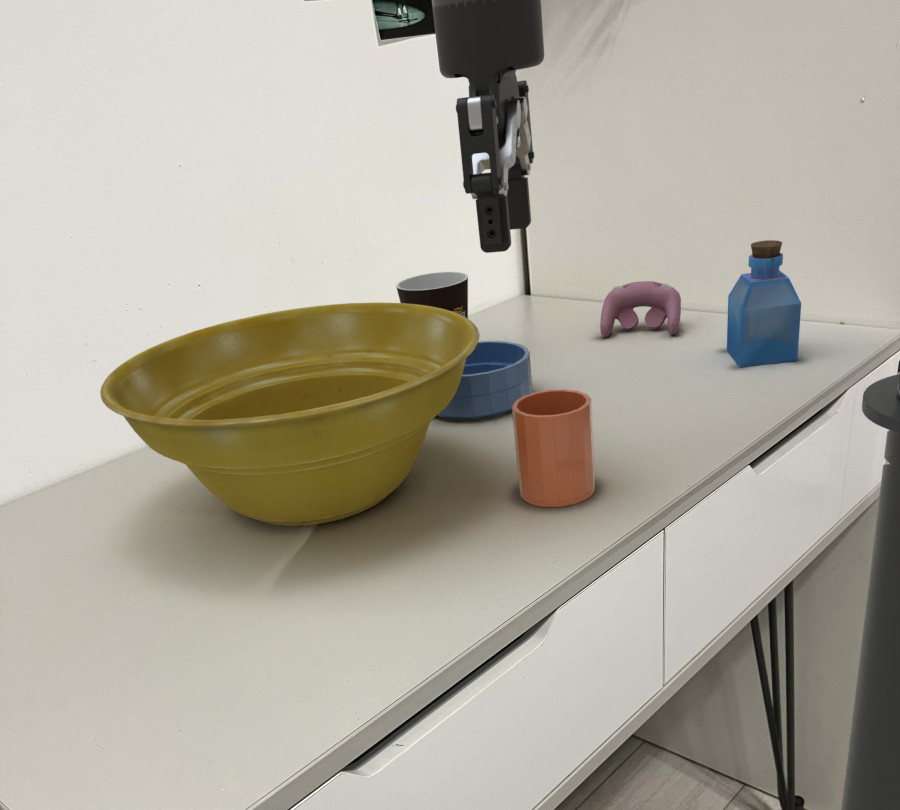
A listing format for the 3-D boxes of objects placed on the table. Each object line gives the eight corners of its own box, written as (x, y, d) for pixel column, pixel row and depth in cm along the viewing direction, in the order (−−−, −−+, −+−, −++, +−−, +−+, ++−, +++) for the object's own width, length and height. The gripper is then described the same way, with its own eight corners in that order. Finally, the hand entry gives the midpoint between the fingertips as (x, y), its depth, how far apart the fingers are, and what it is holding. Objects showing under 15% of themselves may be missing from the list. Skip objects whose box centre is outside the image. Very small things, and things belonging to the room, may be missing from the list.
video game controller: (681, 340, 120) (684, 282, 119) (678, 333, 115) (681, 274, 115) (603, 342, 123) (605, 286, 122) (597, 335, 118) (599, 278, 118)
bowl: (540, 382, 108) (537, 338, 105) (522, 421, 98) (518, 373, 95) (438, 386, 111) (432, 343, 108) (411, 424, 101) (404, 378, 98)
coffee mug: (466, 348, 123) (457, 268, 118) (485, 365, 115) (476, 281, 110) (378, 365, 121) (365, 285, 116) (392, 384, 114) (379, 299, 108)
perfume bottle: (781, 344, 109) (788, 234, 103) (797, 360, 103) (805, 245, 97) (726, 350, 109) (729, 241, 103) (739, 367, 104) (743, 253, 98)
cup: (598, 475, 84) (594, 387, 80) (590, 507, 79) (585, 415, 75) (527, 476, 86) (519, 390, 82) (514, 507, 80) (506, 418, 76)
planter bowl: (568, 472, 85) (559, 322, 78) (263, 626, 69) (217, 453, 62) (358, 408, 107) (336, 287, 101) (88, 512, 91) (41, 375, 84)
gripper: (520, -15, 59) (540, 256, 67) (554, -14, 71) (568, 217, 79) (405, 3, 61) (438, 264, 69) (457, 1, 73) (480, 225, 81)
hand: (507, 239), depth 74 cm, fingers open, 8 cm apart
